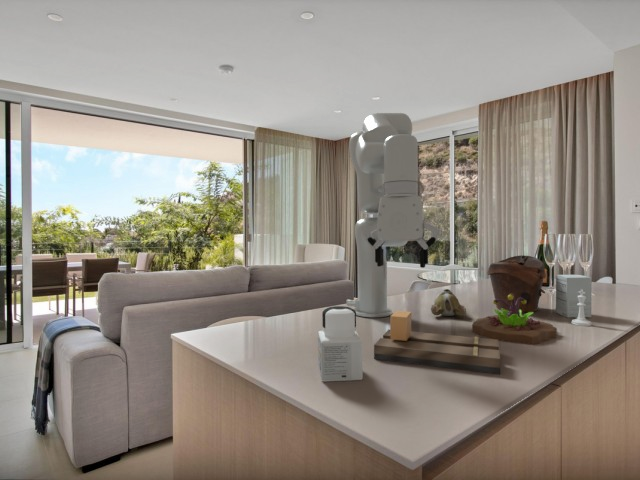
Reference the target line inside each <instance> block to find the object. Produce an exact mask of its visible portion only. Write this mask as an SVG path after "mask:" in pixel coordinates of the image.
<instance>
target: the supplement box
mask: <svg viewBox="0 0 640 480" xmlns="http://www.w3.org/2000/svg"><path fill="white" fill-rule="evenodd" d="M592 280H593V278H592V277H591V276H587V275H583V274H555V313H556V314H558V315H561V316H563V317H565V318H577V317H578V314H579V307H580V306H579V305H577V304H578V303H580V302H579V299H578V296H579V295H580V293H578V291H581V289H582V290H583V292H585V294H583V296H585V297H586V298H585V301H584V304H586V306H583V307H584V315H585V318H592V288H593V287H592V286H593V285H592Z"/></svg>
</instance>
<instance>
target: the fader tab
mask: <svg viewBox="0 0 640 480" xmlns="http://www.w3.org/2000/svg"><path fill="white" fill-rule="evenodd" d="M389 316H390V317H389V318H390V319H389V320H390V327H389V328H390V329H389V330H390V339H394V340H404V341H407V339H408V338H409V337H410V335H411V332H412V311H403V310H395V311H394V312H392V314H391V315H389Z"/></svg>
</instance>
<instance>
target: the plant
mask: <svg viewBox="0 0 640 480" xmlns="http://www.w3.org/2000/svg"><path fill="white" fill-rule="evenodd" d="M508 299H509V300H511V301H512V302H511V306H510V305H509V304H508V303H507V302H505V301H504V300H501V299H495V298H494V299H493V300H492V303H493V304H494V305H496V304H498V301H501V302H503V303H504V304H505V305H506V306H507V307H508V310H509V311H507V310H505V309H503V308H502V309H501V310H499V309H494V308H492V310H493V312H495V313H496V314H497V315H496V314H493V315H490V316H489V315H488V316H486V317H481V318H477V319H476V320H474V321H473V322H472V325H471V333H474V334H477V335H480V336H482V337H483V338H487V339H497V340H498V341H502V342H506V343H519V344H527V345H538V344H539V345H540V344H541V343H543V342H547V341H548V340H550V339H556V338H557V335H558V334H557V333H558V330H557V327H555V326H554V325H553V324H551V323H548V322H544V321H540V320H535V319H533V318H532V317H530V316H532V315H534V312H535V311H532V312H525V313H524V314H523V315H522V313H523V312H521V309H519V301H520V300H521V302H522V304H526V300H525V299H523V298H522V297H520V298H518V299H517V301H516V302H515V296H514V294H513V293H510V294H509V295H508ZM501 311H502V312H501Z"/></svg>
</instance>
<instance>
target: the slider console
mask: <svg viewBox="0 0 640 480" xmlns="http://www.w3.org/2000/svg"><path fill="white" fill-rule="evenodd" d="M500 352H501V351H500V344H499V340H497V339H491V338H487V337H479V336H462V335H455V334H453V335H451V334H443V333H434V332H433V333H432V332H430V333H429V332H421V331H420V332H419V331H411V335H410V337H409V338H408V339H407V341H404V340H394V339H390V329H387V331H385V333H384V334H383V335H382V338H381V337H380V338H379V339H378V340H377V341H376V342H375V343H374V345H373V358H374V359H375V360H384V361H390V362H399V363H406V364H413V365H414V364H415V365H423V366H430V367H437V368H438V367H439V368H445V369H446V368H448V369H455V370H461V371H462V370H463V371H470V372H477V373H478V372H479V373H486V374H495V375H501V354H500Z"/></svg>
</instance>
